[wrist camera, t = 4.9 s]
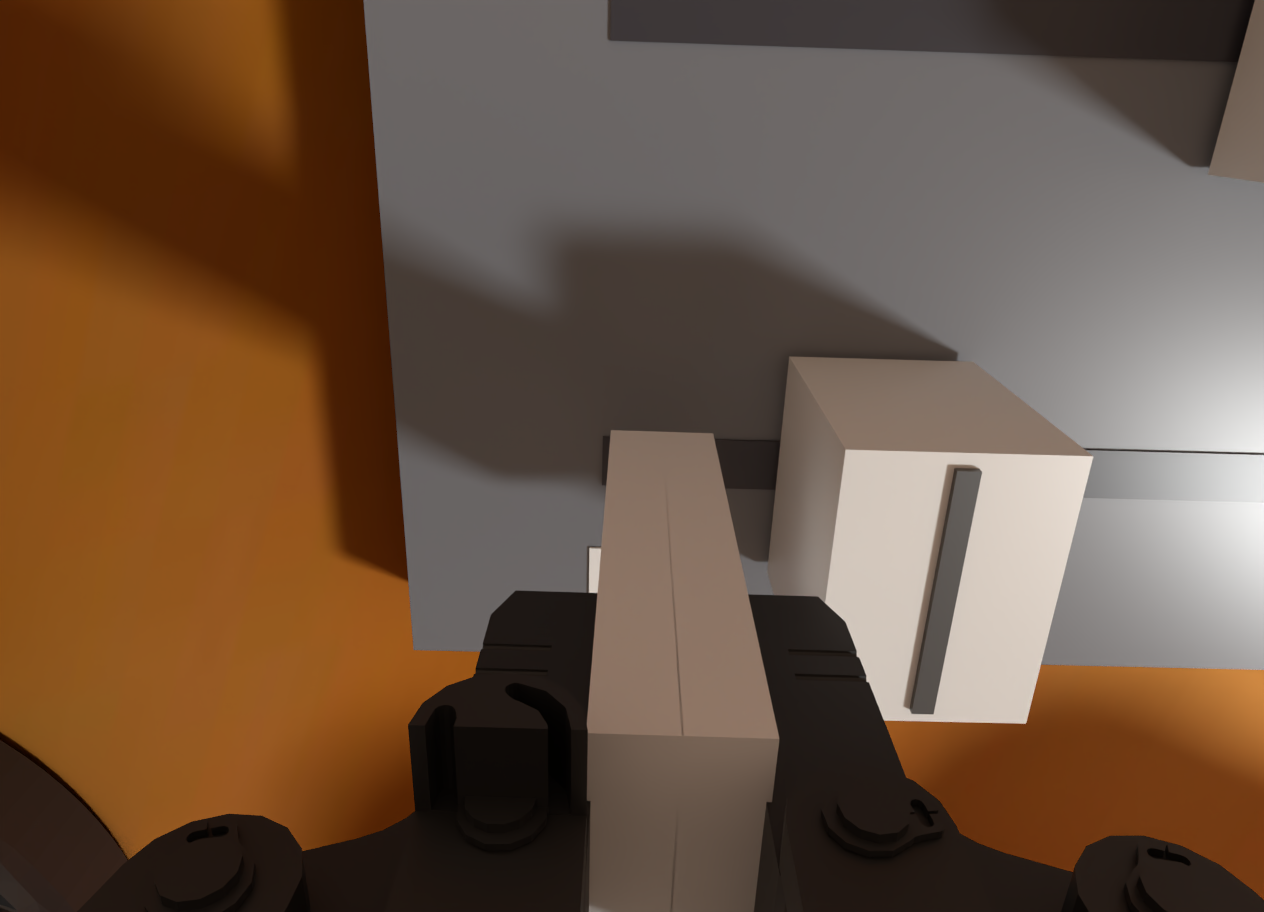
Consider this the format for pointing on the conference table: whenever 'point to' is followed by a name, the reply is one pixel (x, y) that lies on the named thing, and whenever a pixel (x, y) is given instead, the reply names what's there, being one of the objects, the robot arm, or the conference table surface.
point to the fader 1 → (927, 528)
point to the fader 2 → (1244, 111)
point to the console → (820, 273)
